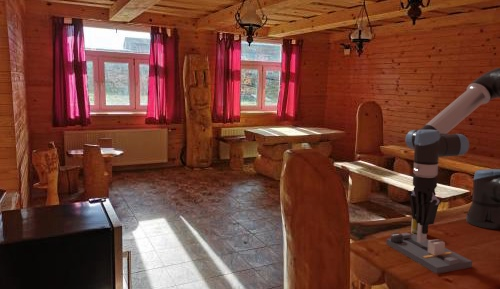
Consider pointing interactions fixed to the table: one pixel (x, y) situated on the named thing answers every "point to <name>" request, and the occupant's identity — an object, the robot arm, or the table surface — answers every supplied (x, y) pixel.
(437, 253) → the fader knob
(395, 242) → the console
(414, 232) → the supplement bottle
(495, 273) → the table surface
